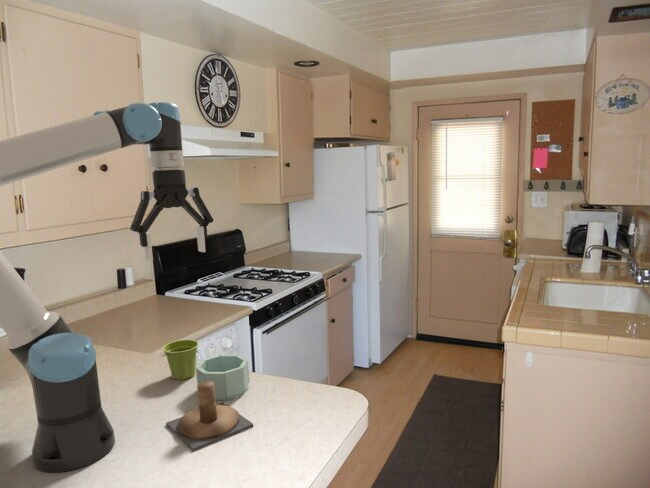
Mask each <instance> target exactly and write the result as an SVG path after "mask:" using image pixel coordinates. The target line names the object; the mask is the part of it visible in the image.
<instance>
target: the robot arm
mask: <svg viewBox="0 0 650 488" xmlns="http://www.w3.org/2000/svg"><path fill="white" fill-rule="evenodd" d="M180 117H181V115H180V110H179V107H178V105H177V104H176V103H174V102H167V101H166V102H161V101H160V102H149V103H146V102H134V103H131V104H129V105H127V106H123V107H119V108H116V109H111V110H108V109H106V110H104V111H103V110H99V111H95V112H94V113H92V115H90V116H87V117H82V118H80V119H75V120H72V121H69V122H64V123H61V124H57V125H53V126H49V127H46V128H42V129H39V130H35V131H32V132H31V131H30V132H28V133H23V134H20V135H17V136H13V137H10V138H5V139H1V140H0V187H3V186H5V185H9V184H12V183H15V182H19V181H22V180H25V179H28V178H31V177H34V176H37V175H42V174H44V173H47V172H50V171H53V170H56V169H59V168H63V167H66V166H70V165H72V164H75V163H76V164H77V163H79V162H81V161H86V160H88V159H91V158H94V157H99V156H101V155H104V154H107V153H110V152H113V151H117V150H119V149H123V148H127V147H130V146H133V145H135V146H136V145H137V146H139V145H149V152H150V163H151V164H150V165H151V168H152V169H154V170H153V171H152V182H153V190H152V191H147V190H142V191H140V201H139V204H138V206H137V210H136V212H135V215H134V218H133V219H132V221H131V225H130V231H131V232H135V233H138V234H139V235H138V236H139V244H140V246H141V247H142V248H144V253H145V260H147V261H154V257H153V247H152V238H151V237H152V236H151V233H150V232H148V231H149V229H150V228H151V227H152V225H153V223H154V222H155V220H156V219H157V217H158V216H159V214H160V213H161V211H163V210H164V209H172V208H180V207H181V209H184V211H185V212H187V214H188V215H189V216H190V217H191V218H192V219H193V220H194V221H195V222H196V223H197V224H198V225H196V226H195V228H196V239H197V250H198V252H201V253H206V241H205V239H208V226H209V224H211V223H213V222H214V218H213V216H212V215H211V213H210V211H209V210H208V207H207V206H206V204H205V202H204V200H203V199H202V197H201V194H200V190H199V187H190V188H187V186H186V183H187V182H186V174H185V173H186V171H185V170H184V169H182V168H183V167H184V166H185V163H184V162H185V161H184V151H183V142H182V141H183V140H182V139H183V137H182V126H181V125H182V122H181V118H180ZM188 195H189V196H190V197H191V199H192V201H193V203H194V204H195V206H196V208H197V209H198V211H199V212H198V211H197V210H196V209H195V208H194V207H193V206H192V205H191V203H190V202H189V201H188V200H187V197H188ZM152 198H154V199H155V201H156V202H155V203H154V204H153V206H152V208H151V210H150V211H149V213H148V214H147V216H146V217H145V214H146V212H147V209H148V206H149V205H150V201H151V200H152ZM144 217H145V219H144ZM0 327H1V329H2V330H3V331H4V332H5V334H6V335H7V340H6V345H5V346H6V348H7V349H8V350H9V352H10V353H11V354H12V356H14V357H15V359H16V360H17V361H18V362H19V363H20V365H21V366H22V367H23V368H24V370H25V372H26V373H27V375H28V378H29V380H30V384H31V386H32V391H33V400H34V403H35V404H34V405H35V413H36V417H37V428H36V430H35V435H34V441H33V445H32V449H31V450H32V451H31V456H32V457H31V458H32V463H33V466H34V467H35V469H37V470H39V471H42V472H46V473H62V472H68V471H73V470H77V469H80V468H83V467H86V466H89V465H91V464H93V463H96V462H97V461H99V460H101V459H102V458H103V457H105V456H106V455H108V453H110V451H112V450H113V448H114V446H115V443H116V437H115V431H114V428H113V426H112V423H111V422H110V420H109V418H108V416H107V415H106V413H105V411H104V409H103V407H102V400H101V391H100V384H99V383H100V382H99V377H98V376H99V375H98V367H97V352H96V348H95V347H94V343H93V340H92V339H91V338H90V337H89V336H88V335H85V334H82V333H76V332H74V331H73V330H72V329H71V328H70V326H69V325H68V324H67V323H66V321H65V320H64V318H62V316H61V315H60V313H59V312H56V311H49V310H47V309H46V308H45V306H44V305H43V304H42V303H41V302H40V300H39V299H38V297H37V296H36V295H35V294H34V292H33V291H32V290H31V289H30V287H29V286H28V284H27V283H26V282H25V281H24V279H23V277H21V276H20V274H19V273H18V272H17V270H16V269H15V268H14V267H13V265H12V264H11V262H10V261H9V260H8V259H7V257H6V256H5V254H4V253H3V252H2V251H1V250H0Z"/></svg>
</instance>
